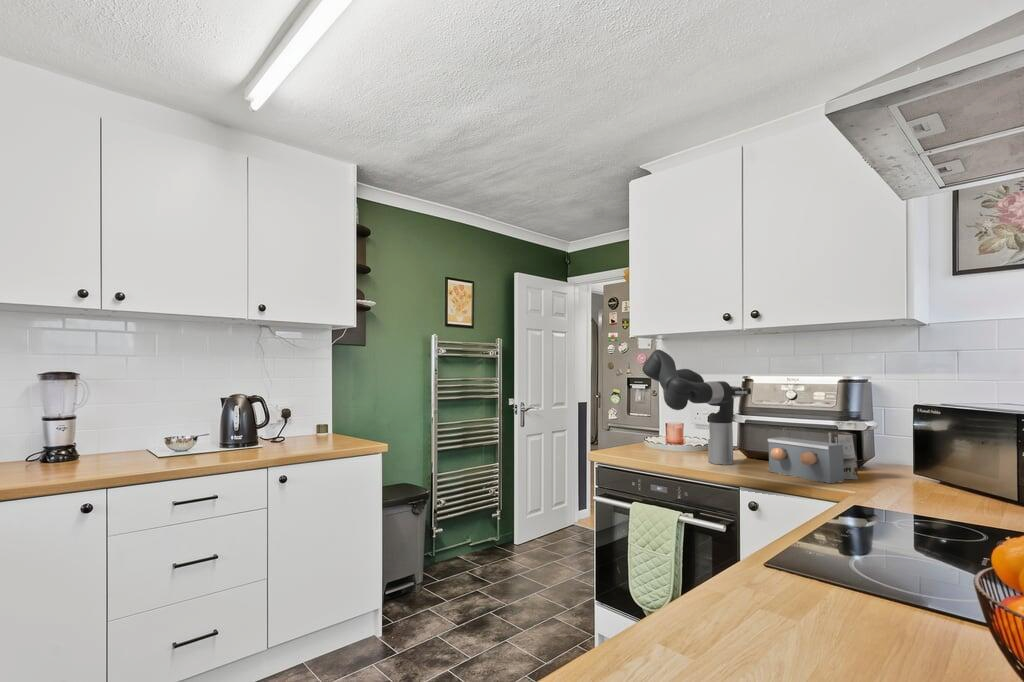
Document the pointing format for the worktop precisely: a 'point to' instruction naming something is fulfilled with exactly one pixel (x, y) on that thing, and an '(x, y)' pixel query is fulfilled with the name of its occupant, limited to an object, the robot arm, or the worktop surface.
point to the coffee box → (847, 452)
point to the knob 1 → (778, 453)
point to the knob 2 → (808, 458)
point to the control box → (823, 470)
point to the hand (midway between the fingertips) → (749, 391)
